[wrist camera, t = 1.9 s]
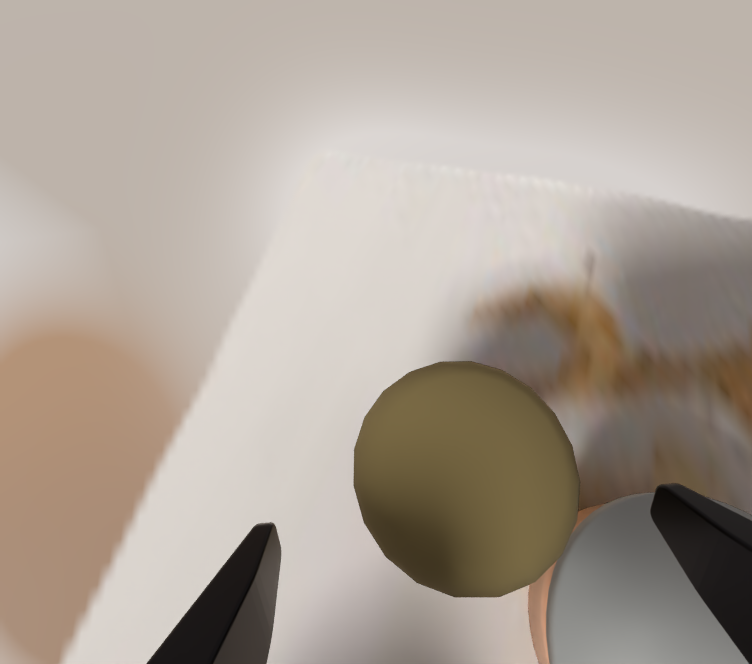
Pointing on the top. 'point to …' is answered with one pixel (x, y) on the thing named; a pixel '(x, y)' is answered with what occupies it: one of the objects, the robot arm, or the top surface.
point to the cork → (466, 479)
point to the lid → (629, 596)
